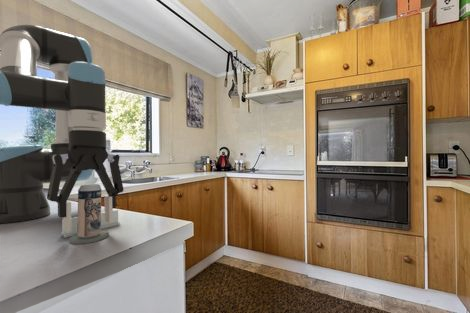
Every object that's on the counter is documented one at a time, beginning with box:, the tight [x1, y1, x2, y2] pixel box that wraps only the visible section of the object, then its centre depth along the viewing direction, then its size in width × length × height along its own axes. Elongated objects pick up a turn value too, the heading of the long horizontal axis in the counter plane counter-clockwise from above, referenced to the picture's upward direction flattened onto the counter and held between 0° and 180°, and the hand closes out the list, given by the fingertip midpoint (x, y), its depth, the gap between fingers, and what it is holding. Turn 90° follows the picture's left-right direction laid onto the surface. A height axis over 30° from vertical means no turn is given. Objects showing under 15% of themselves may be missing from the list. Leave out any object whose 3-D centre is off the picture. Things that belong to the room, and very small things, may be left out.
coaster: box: [68, 230, 109, 245], centre depth 55 cm, size 8×8×1 cm
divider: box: [60, 209, 121, 238], centre depth 62 cm, size 3×13×4 cm, turn 142°
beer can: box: [77, 183, 103, 238], centre depth 55 cm, size 5×5×12 cm
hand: (89, 226), depth 55 cm, fingers open, 8 cm apart
